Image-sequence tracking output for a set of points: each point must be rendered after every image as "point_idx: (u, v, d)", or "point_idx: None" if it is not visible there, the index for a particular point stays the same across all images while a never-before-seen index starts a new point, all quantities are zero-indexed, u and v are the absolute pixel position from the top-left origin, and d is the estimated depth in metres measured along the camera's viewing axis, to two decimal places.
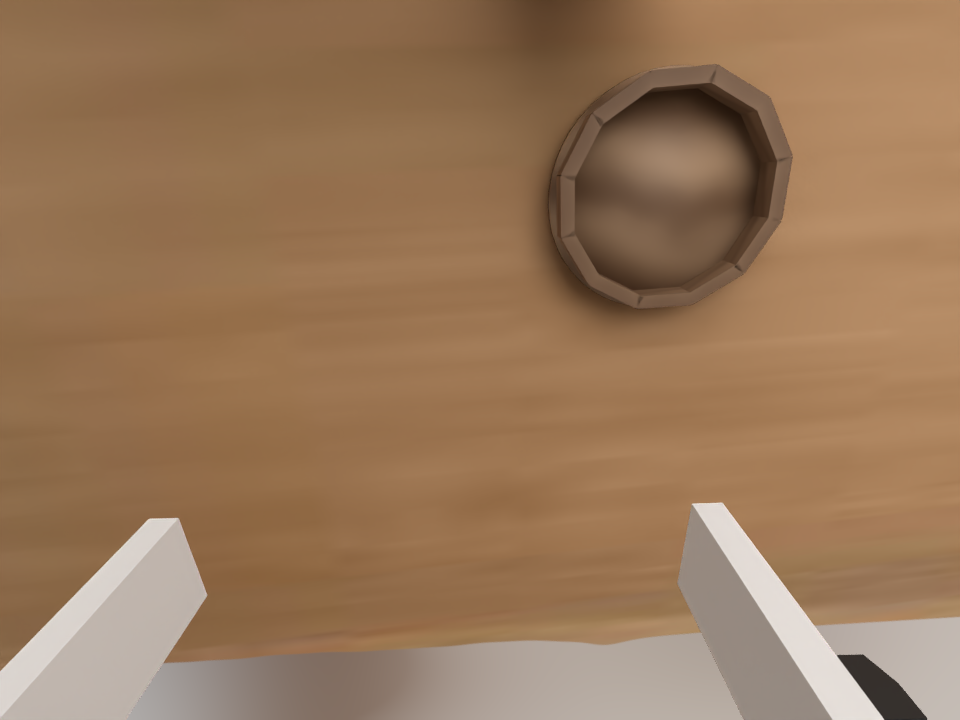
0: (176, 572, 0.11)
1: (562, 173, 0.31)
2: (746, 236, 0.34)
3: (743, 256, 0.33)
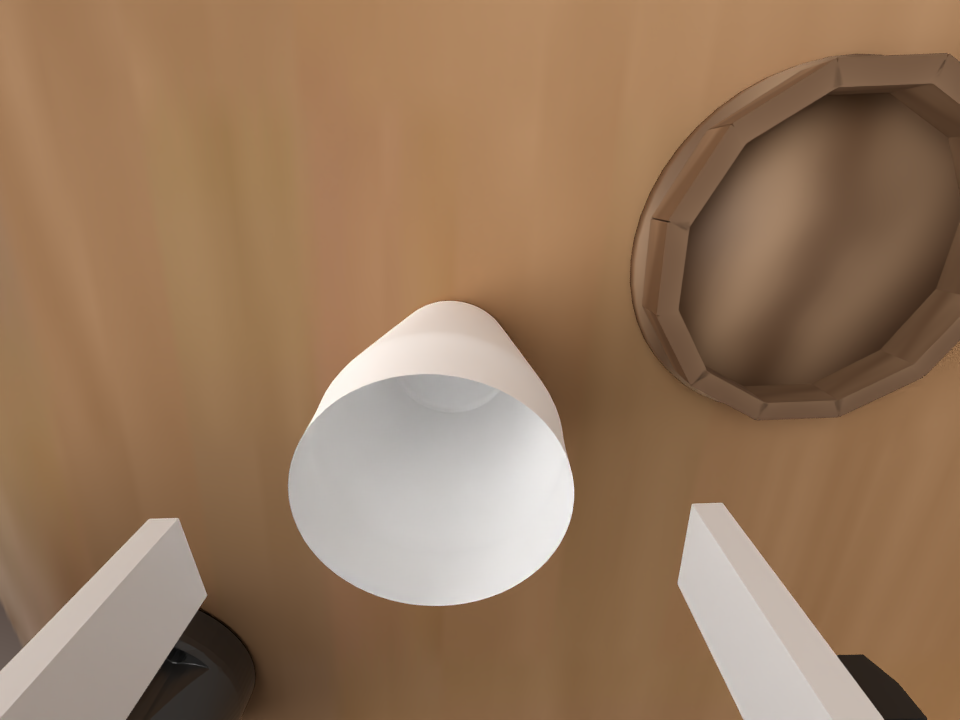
0: (176, 572, 0.11)
1: (754, 417, 0.23)
2: (935, 108, 0.19)
3: None
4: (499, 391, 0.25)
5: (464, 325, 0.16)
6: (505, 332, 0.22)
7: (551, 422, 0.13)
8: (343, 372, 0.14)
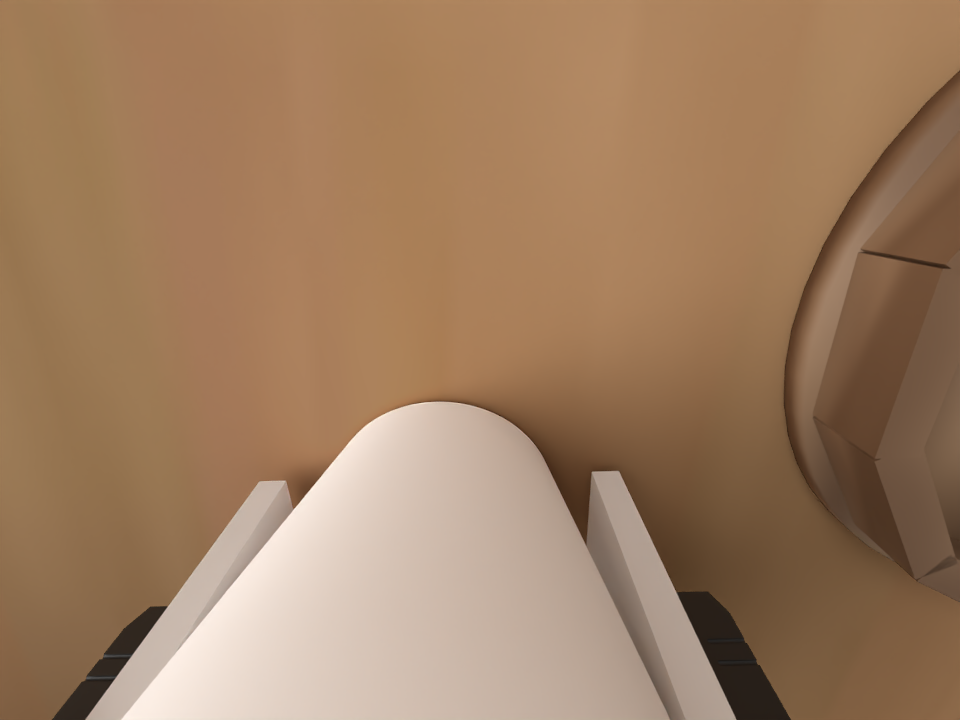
0: None
1: None
2: None
3: None
4: None
5: (464, 605, 0.05)
6: (548, 475, 0.11)
7: None
8: None
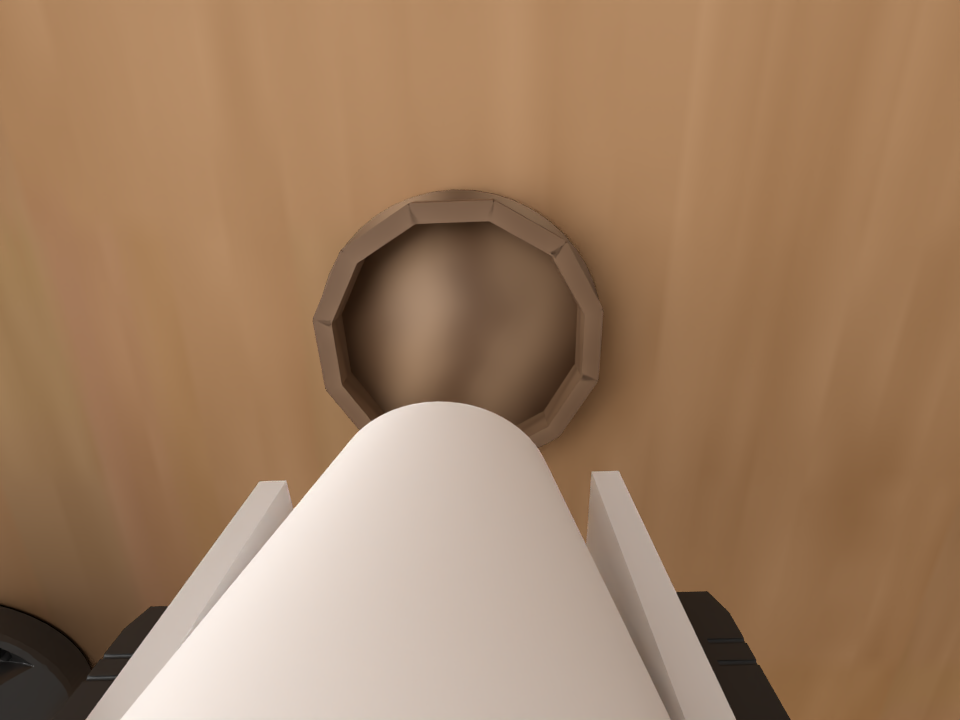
0: None
1: None
2: None
3: (541, 248, 0.23)
4: None
5: (464, 607, 0.05)
6: (548, 475, 0.11)
7: None
8: None
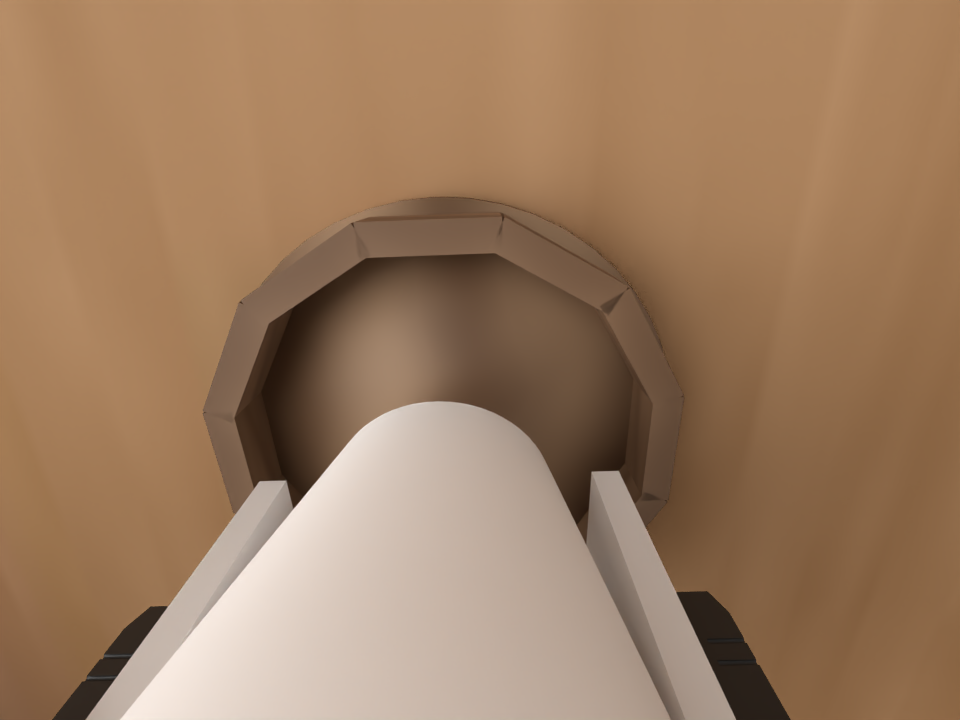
0: None
1: None
2: None
3: (584, 298, 0.13)
4: None
5: (464, 606, 0.05)
6: (548, 475, 0.11)
7: None
8: None
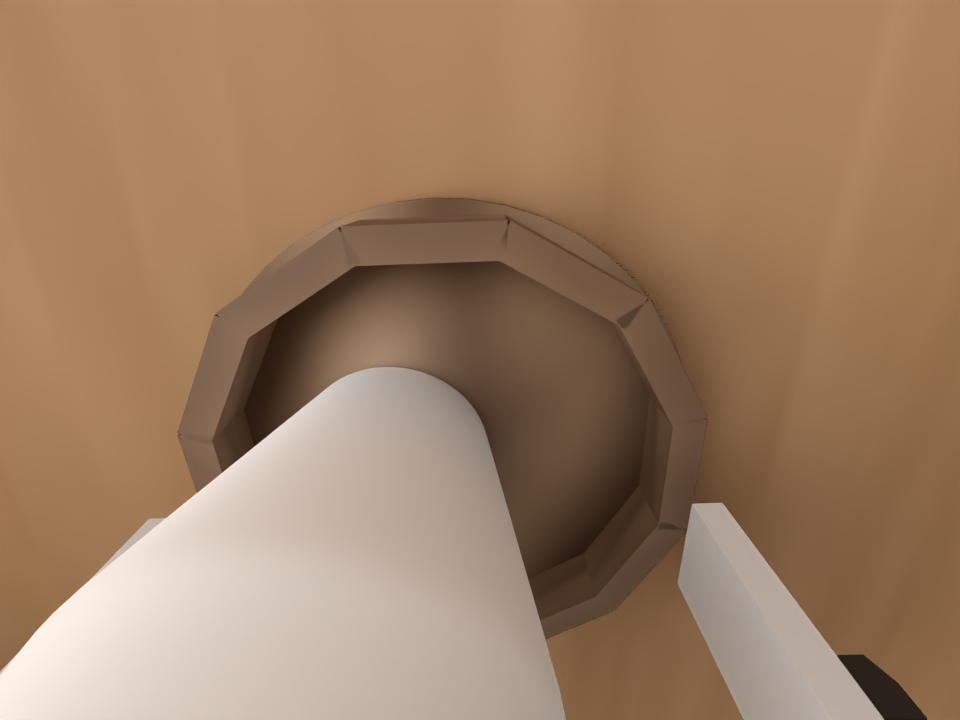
0: None
1: None
2: None
3: (598, 310, 0.12)
4: None
5: (357, 479, 0.08)
6: (473, 424, 0.13)
7: None
8: (25, 645, 0.06)
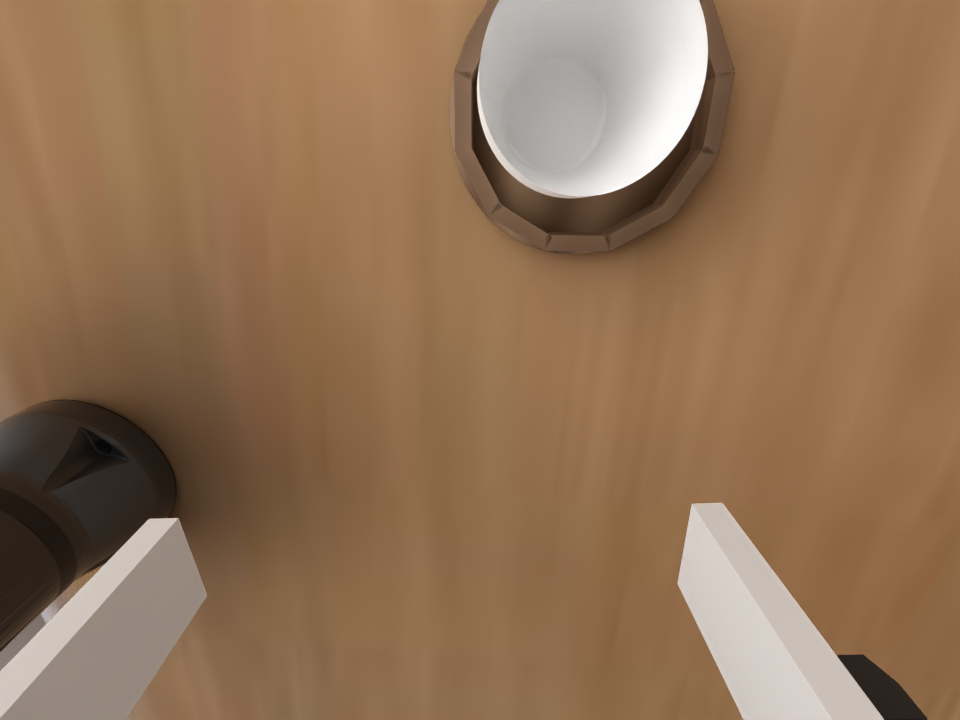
0: (176, 572, 0.11)
1: (542, 248, 0.29)
2: None
3: None
4: (592, 151, 0.29)
5: None
6: (610, 71, 0.25)
7: (693, 6, 0.17)
8: None
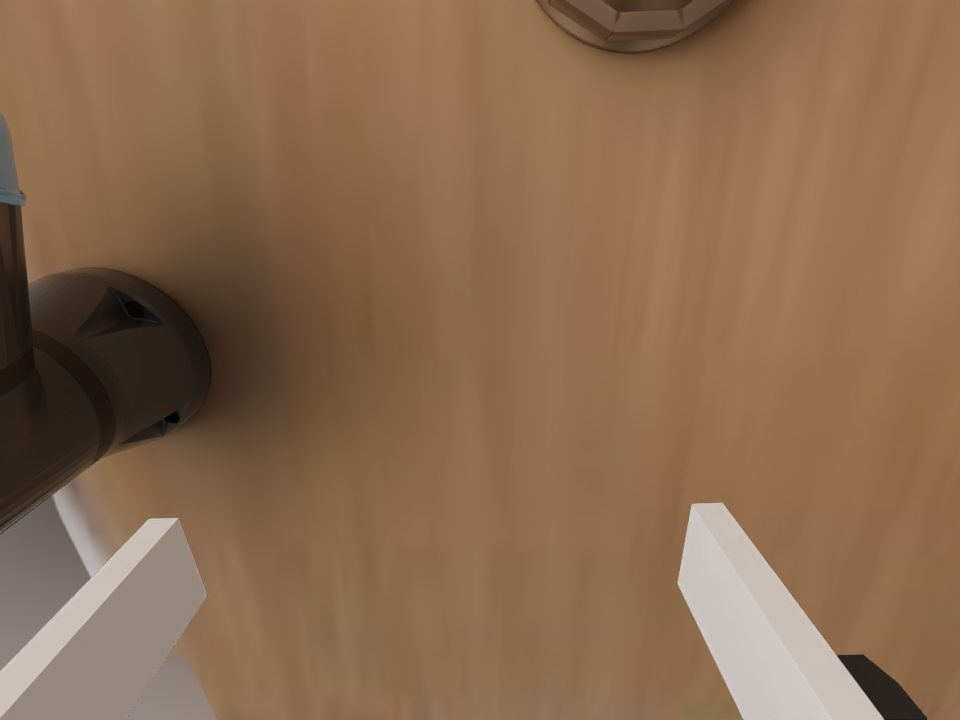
0: (176, 572, 0.11)
1: (610, 29, 0.27)
2: None
3: None
4: None
5: None
6: None
7: None
8: None
